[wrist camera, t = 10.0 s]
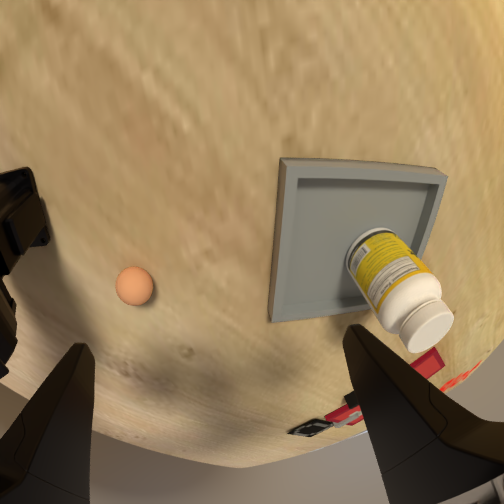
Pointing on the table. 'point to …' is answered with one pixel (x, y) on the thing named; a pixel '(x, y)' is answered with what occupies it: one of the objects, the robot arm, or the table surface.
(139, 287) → the orange ball
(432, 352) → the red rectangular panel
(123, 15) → the table surface
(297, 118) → the table surface
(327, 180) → the tray
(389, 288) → the supplement bottle
